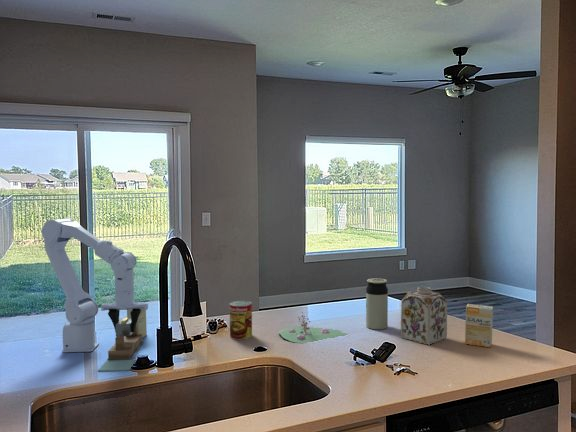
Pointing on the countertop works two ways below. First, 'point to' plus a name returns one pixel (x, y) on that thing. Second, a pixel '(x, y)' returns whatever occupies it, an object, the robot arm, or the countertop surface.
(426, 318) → the decorative jar
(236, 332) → the canned food
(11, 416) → the countertop surface
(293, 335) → the plant
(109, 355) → the hand plane
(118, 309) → the robot arm
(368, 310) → the travel mug
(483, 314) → the supplement box
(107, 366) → the mat
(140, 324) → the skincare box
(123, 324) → the lever cap
